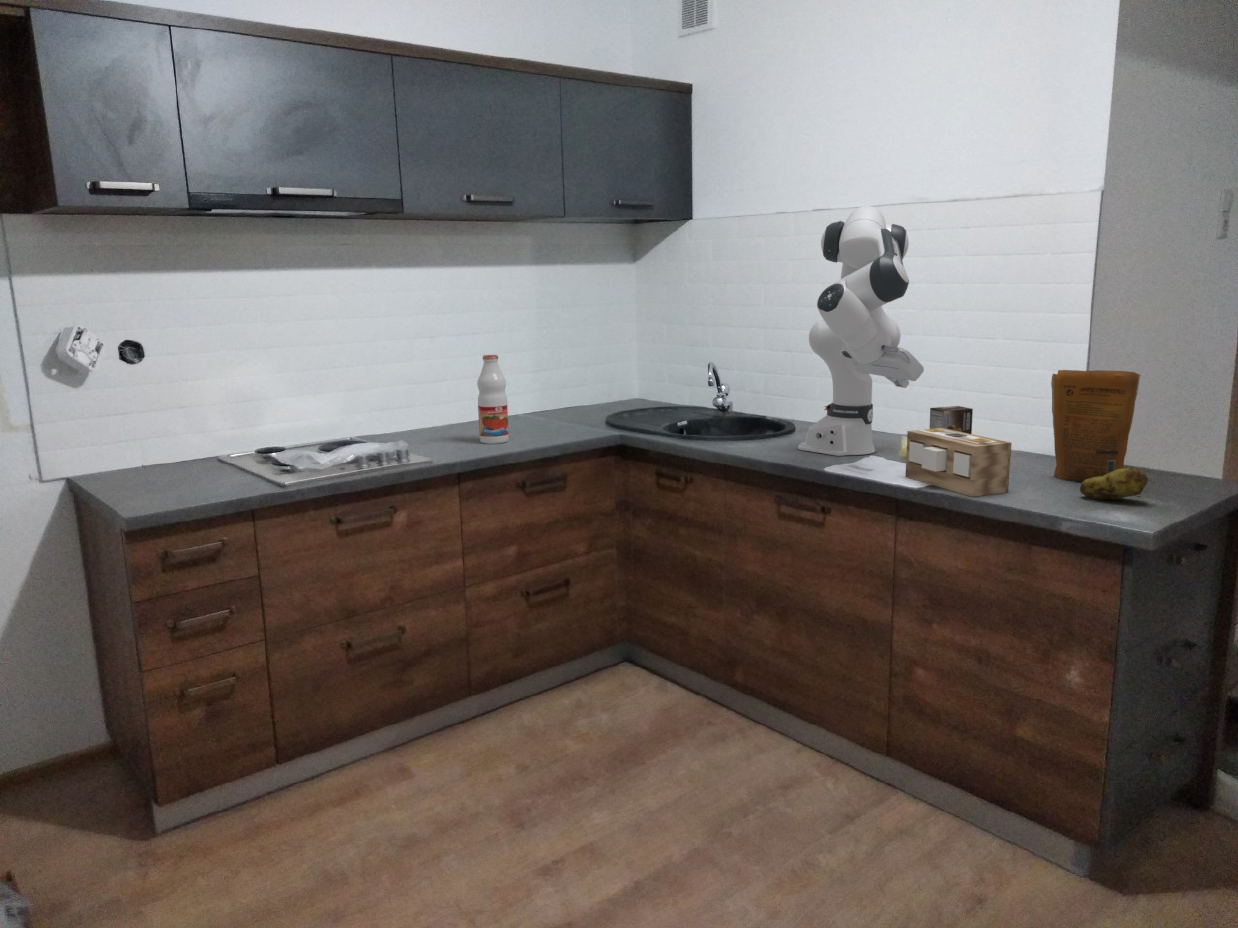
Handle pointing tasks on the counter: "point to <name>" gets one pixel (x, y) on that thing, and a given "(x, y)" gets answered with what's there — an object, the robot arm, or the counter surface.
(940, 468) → the button middle
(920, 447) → the button
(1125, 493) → the potato
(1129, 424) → the pancake mix bag
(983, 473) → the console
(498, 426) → the fruit juice
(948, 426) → the coffee box
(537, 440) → the counter surface
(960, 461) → the button
